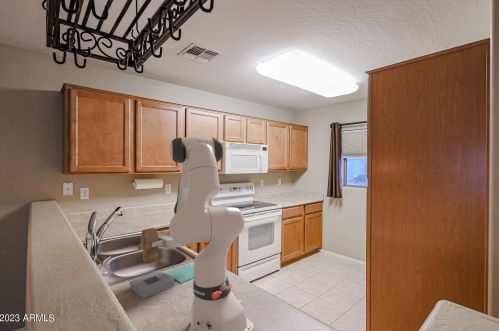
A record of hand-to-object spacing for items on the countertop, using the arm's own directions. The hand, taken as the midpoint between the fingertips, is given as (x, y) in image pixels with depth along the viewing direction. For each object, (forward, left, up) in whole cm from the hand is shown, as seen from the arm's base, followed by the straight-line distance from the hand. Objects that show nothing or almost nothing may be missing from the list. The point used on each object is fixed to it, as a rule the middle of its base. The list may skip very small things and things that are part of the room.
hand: (148, 243), depth 108 cm
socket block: (0, -1, -20) cm, 20 cm away
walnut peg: (0, -1, -8) cm, 8 cm away
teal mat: (0, -18, -20) cm, 27 cm away
